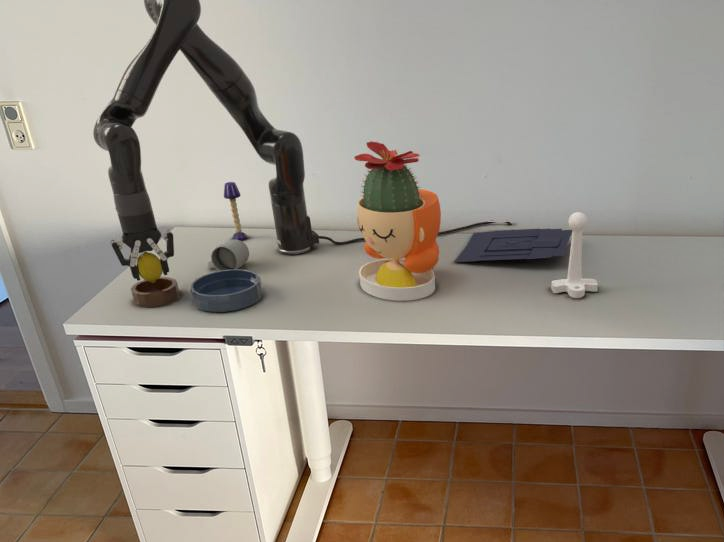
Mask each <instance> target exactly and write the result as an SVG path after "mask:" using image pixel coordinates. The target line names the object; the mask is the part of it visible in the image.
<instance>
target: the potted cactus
mask: <svg viewBox="0 0 724 542" xmlns="http://www.w3.org/2000/svg"><path fill="white" fill-rule="evenodd" d="M366 147H367V149H369V150H370V151H371V152H373V153H374V154H376V155H377V156H378V157H375V156H374V155H372V154H370V153H360V154H357V155H354V160H355V161H358V162H365V164H364V167H365V168H366V172H367V173H364V175H363V176H365V179H362V180H360V181H362V183H363V184H361V190H360V191H359V192H360V199H359V200H358V201H357V206H356V207H357V208H356V211H357V213H356V215H357V217H356V219H357V224H358V229H359V231H360V233H361V236H362V238H364V239H365V240H364V241H365V244H364V251H365V253H366V254H367V255H368V256H370V257H371V258H374V259H378V260H373V261H370V262H367V263H365V264H363V265H362V266H361V267H360V268H359V270H358V274H359V283H360V288H361V289H362V290H363V292H365V293H367V294H369V295H370V296H373V297H375V298H378V299H381V300H387V301H397V302H407V301H416V300H421V299H424V298H426V297H429V296H430V295H432V294H433V293H435V290H436V281H435V280H436V279H435V278H436V276H435V272H434V270H433V269H434V268H435V267H436V265H437V264H438V262H439V260H440V259H439V258H440V257H439V256H440V247H439V244H438V242H437V238H438V236H439V235H438V233H439V232H440V228H441V221H442V213H441V212H442V211H441V203H440V199H439V196H438V194H437V193H435V192H433V191H431V190H427V189H422V188H420V187H421V186H420V184H419V183H420V181H416V180H418V177H417V175H415V174H413V173H415V172H414V171H415V170H412V167H411V166H409V165H408V164H413V163H414V164H415V163H419V161H420V160H419V157H420V156H421V155H420V154H419V153H416V152H415V151H412V150H409V151H406V152H404V153H401V154H398V152H397V150H396V149H394V150H393V149H391V150H389V149H388V148H387V146H386V145H385V144H384V143H380V142H378V141H372V140H371V141H368V142H367V141H366ZM379 157H380V158H379ZM418 184H419V185H418Z"/></svg>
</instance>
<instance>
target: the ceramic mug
mask: <svg viewBox="0 0 724 542" xmlns="http://www.w3.org/2000/svg"><path fill="white" fill-rule="evenodd" d="M249 258H250V249H249V247H248V246H247V244H246V243H245V242H243V240H241V241H240V240H237V239H233V238H232V239H229V240H227V241H225V242H224V243H221V244H220V245H218V246H216V247H214V249H212V251H211V254H210V261H209V262H207V266H208V267H209V269H213V268H215V269H216V270H217V271H222V270H231V269H240V268H241V267H242V266H243V265H245V264H246V262H247V261H248V260H249Z"/></svg>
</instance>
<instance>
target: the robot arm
mask: <svg viewBox="0 0 724 542" xmlns="http://www.w3.org/2000/svg"><path fill="white" fill-rule="evenodd" d="M143 4H144V8H145V11H146V13H147V15H148V17H149V18H150V19H151V21H152V22H153V23H154V24H155V28H154V30H153V32H152V34H151V36H150V38H149V39H148V41H147V42H146V44H145V45H144V46H143V47H142V48H141V50H140V51H139V52H138V54H137V55H136V56H135V57H133V59H132V60H131V61H130V63H128V66H127V67H126V69H125V70H124V72H123V73H122V76H121V78H120V80H119V83H118V85H117V87H116V90H115V92H114V94H113V97H112V99H111V100H109V103H107V105H106V106H105V107H104V109H103V110H102V111H101V113H100V115H99V116H98V117H97V119H96V121H95V123H94V125H93V130H92V132H93V134H92V135H93V140H94V142H95V144H96V145H97V146H98V147H99V148H100V149H102V150H103V151H106V152H108V155H109V160H110V166H109V167H108V170H107V174H108V180H109V183H110V186H111V190H112V194H113V202H114V207H115V208H114V209H115V211H116V213H117V217H118V221H119V225H120V228H121V232H122V236H121V238H119V239H116V240H115V239H111V240H110V242H109V243H110V245H111V248H112V249H113V251H114V253H115V255H116V257H117V259H118V261H119V263H120V265H121V266H122V267H125V266H126V267H129V269H130V272H131V276H132V278H133V279H134V280H136V281H137V282H140V281H141V276H140V275H139V272H138V269H137V259H138V257H139V254H143V253H144V252H153V251H154V252H155V254H156V255H157V256H158V258H159V260H160V262H161V265H162V275H164V276H168V273H170V267H169V263H168V259H169V258H172V257H174V256H175V245H174V241H175V240H174V233H173V232H172V230H169V229H168V230H166V231H160V229H158V227H157V222H156V218H155V214H154V210H153V206H152V202H151V197H150V195H149V193H148V190H147V187H146V181H145V178H144V175H143V171H142V149H141V143H140V142H141V141H140V139H139V136H138V134H137V132H136V130H135V129H134V128H133V125H134V124H135V123H136V121H137V120H138V119H141V118H143V117H145V116H146V114H147V112H148V110H149V108H150V106H151V104H152V102H153V99H154V97H155V95H156V93H157V90H158V88H159V86H160V84H161V81H162V80H163V78H164V76H165V74H166V72H167V71H168V69H169V67H170V65H171V64H172V62H173V60H174V59H175V57H176V56H177V54H178V53H179V51H180V52H181V53H182V55H184V57H185V58H186V60H187V61H188V62H189V64H190V66H191V67H192V68H193V69H194V70H195V72H196V73H197V74H198V76H199V77H200V78H201V79H202V81H203V82H204V84H205V85H206V86H207V87H208V89H209V90H210V91H211V93H212V94H213V96H215V98H216V99H217V100H218V102H219V103H220V104H221V105H222V107H224V109H225V110H226V111H227V113H228V114H229V115H230V116H231V118H232V119H233V120H234V121H235V123H236V124H237V125H238V126H239V128H240V129H241V130H242V132H243V134H245V136H246V138H247V139H248V141H249V142H250V144H251V146H252V148H253V149H254V151H255V152H256V154H257V155H258V157H259V158H260V159H261V160H262V161H264V162H265V163H267V164H269V165H274V166H275V172H276V173H275V174H276V176H275V177H273V178H271V179H270V180H269V181H268V191H269V198H270V203H271V209H272V210H271V211H272V215H273V222H274V223H273V224H274V228H275V234H276V238H275V242H276V243H277V248H278V252H279V253H280V254H283V255H291V256H292V255H293V256H294V255H301V254H305V253H308V252H309V251H311V250H314V249H315V245H319V244H320V240H321V239H322V240H327V241H329V242H331V243H332V244H334V245H340V246H341V245H347V244H352V243H356V242H361V241H366V240H365V239H364V237H358V238H354V239H350V240H346V241H335V240H334V239H333V238H331V237H328V236H324V235H319V234H318V233H317V232H316V231H314V229H313V228H312V223H311V217H310V216H309V215H308V211H307V210H308V209H307V202H306V196H305V188H304V184H305V183H304V182H305V177H306V172H305V160H304V159H305V158H304V150H303V145H302V142H301V139H300V138H299V137H298V135H297V134H295V133H294V132H291V131H287V130H282V129H277V128H276V127H274V125H272V124H271V123H270V121H268V119H267V118H266V116H265V115H264V114H263V112H262V111H261V109H260V107H259V103H258V97H257V96H258V95H257V93H256V89H255V87H254V85H253V83H252V81H251V80H250V78H249V76H248V75H247V74H246V72H245V71H244V70H243V68H242V67H241V66H240V64H239V63H238V61H236V60H235V58H233V57H232V56H231V55H230V54H229V53H228V52H226V50H224V49H223V48H222V47H221V46H220V45H219V44H218V43H216V42H215V41H214V40H213V39H211V38H210V37H209V36H208V35H207V34H206V33H205V31H204V30H203V29H202V28H201V27H200V25H199V24H198V23H199V21H200V18H201V14H202V7H201V1H200V0H143ZM507 221H508V222H504V223H505V224H507V225H509V226H512V225H513V224H512V222H510V221H509V220H507ZM494 223H496V222H488V221H482V222H476V223H472V224H468V225H464V226H461V227H456V228H453V229H449V230H444V231H439V233H438V236H441V235H446V234H449V233H455V232H458V231H463V230H466V229H471V228H473V227H477V226H478V227H479V226H484V225H489V224H494ZM161 238H162V239H163V240H164V241H165V243H166V245H165V246H166V251H163V249H161V247H160V246H159V245H158V244H159V241H160V239H161ZM123 244H125V246H127V247H128V248H130V249H129V256H128V258H125V257H124V255H123V253H122V249H123Z"/></svg>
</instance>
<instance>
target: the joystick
mask: <svg viewBox="0 0 724 542" xmlns="http://www.w3.org/2000/svg"><path fill="white" fill-rule="evenodd" d="M568 226H569V228H570V230H572V234H571V242H570V249H569V250H570V251H569V259H568V266H567V276H566V278H561V279H554V280H552V281H551V284H550V285H551V286H550V287H551V288H550V291H551V292H552V293H553V294H559V293H567V294H568V296H569V297H570V298H572V299H581V298H583V297H584V296H585V294H586V292H594V293H596V292H598V288H599V287H598V286H599V283H598V282H597V279H595V278H583V231H584V229H586V227H587V226H588V217H587V215H585V214H584V213H583V212H580V211H576V212H573V213H572V214H571V215H570V216H569V218H568Z"/></svg>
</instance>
